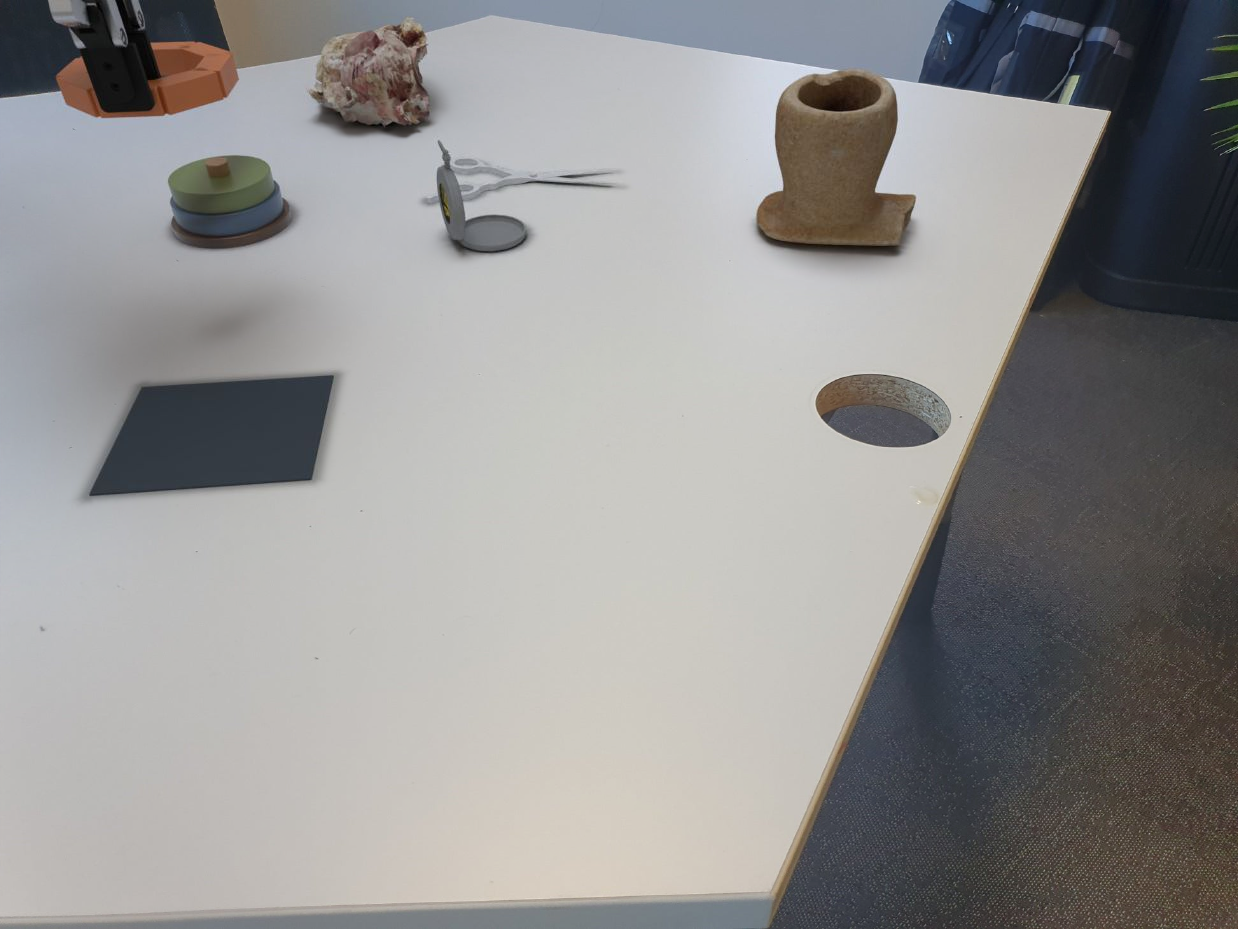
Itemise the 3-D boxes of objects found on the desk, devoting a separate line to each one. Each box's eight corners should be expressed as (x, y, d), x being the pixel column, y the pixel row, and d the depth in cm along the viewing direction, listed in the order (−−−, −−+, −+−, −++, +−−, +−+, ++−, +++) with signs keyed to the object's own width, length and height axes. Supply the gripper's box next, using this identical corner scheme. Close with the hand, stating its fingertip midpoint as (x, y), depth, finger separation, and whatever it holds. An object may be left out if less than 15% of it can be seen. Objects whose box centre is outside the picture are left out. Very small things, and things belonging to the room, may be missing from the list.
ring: (47, 120, 58) (35, 92, 57) (100, 70, 66) (91, 44, 65) (216, 114, 59) (208, 86, 58) (248, 65, 67) (241, 39, 66)
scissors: (437, 157, 100) (617, 153, 100) (438, 164, 100) (617, 160, 101) (426, 197, 92) (622, 193, 92) (427, 205, 92) (622, 200, 93)
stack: (161, 253, 84) (138, 187, 80) (190, 203, 92) (170, 141, 88) (282, 247, 85) (265, 182, 81) (300, 199, 93) (285, 137, 89)
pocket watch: (540, 235, 87) (534, 131, 81) (483, 269, 82) (472, 162, 75) (476, 214, 91) (465, 113, 84) (417, 246, 85) (401, 141, 79)
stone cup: (750, 259, 84) (768, 93, 74) (758, 205, 93) (775, 51, 83) (918, 273, 82) (959, 105, 72) (909, 217, 91) (944, 60, 81)
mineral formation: (335, 69, 122) (295, 4, 114) (446, 32, 120) (413, -37, 111) (330, 185, 111) (286, 122, 102) (453, 146, 108) (418, 79, 100)
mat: (90, 498, 58) (88, 494, 58) (143, 390, 67) (141, 386, 67) (312, 482, 60) (310, 478, 59) (334, 379, 69) (333, 374, 68)
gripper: (-4, -261, 53) (111, 68, 65) (-141, -249, 41) (31, 152, 53) (130, -261, 54) (219, 64, 65) (34, -250, 42) (164, 145, 53)
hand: (134, 101), depth 59 cm, fingers closed on ring, 2 cm apart
